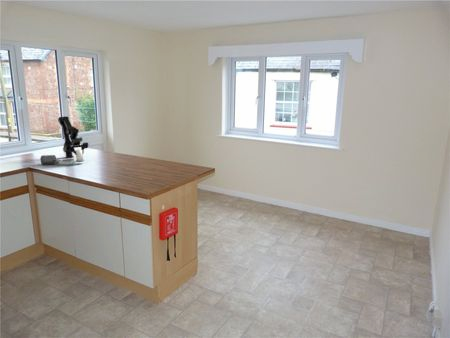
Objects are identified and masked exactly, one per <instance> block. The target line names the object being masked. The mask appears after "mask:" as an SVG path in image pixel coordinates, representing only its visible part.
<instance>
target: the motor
mask: <svg viewBox="0 0 450 338" xmlns="http://www.w3.org/2000/svg"><path fill="white" fill-rule="evenodd" d="M40 163H41V165H54V166H57V167H58V166H72V165H74V164H75V163H77V162H76V160H75V159H74V158H62V159H57V157H56V155H55V154H50V155H47V154H44V155H41V156H40Z"/></svg>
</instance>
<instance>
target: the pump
mask: <svg viewBox="0 0 450 338" xmlns="http://www.w3.org/2000/svg"><path fill="white" fill-rule="evenodd" d="M75 151H76V154H77V155H75V159H76V160H75V161H76V162H75V163H83V162H85V159H84V153H83V152H82V150H81V149H75Z"/></svg>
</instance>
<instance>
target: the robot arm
mask: <svg viewBox="0 0 450 338" xmlns="http://www.w3.org/2000/svg"><path fill="white" fill-rule="evenodd" d="M57 122H58V123H59V125H60V126H61V128H62V133H63V138H64V143H63V148H62V152H64V153H65V157H64V159H74V158H73V157H74V155H73V154H75V156H76V155H77V154H76V151H75V150H76V148H77V149H78V148H81V149H80V150H82V152H83V154H84V152H85V149H88V148H89V146H90V145H89V143H88V142H83V137H82V136H81V137H78V136H79V135H78V134H79V129H78V128H77V127H75V126H73V125H72V123H71V121H70V118H69V116H58V118H57ZM81 142H82V144H81Z"/></svg>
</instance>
